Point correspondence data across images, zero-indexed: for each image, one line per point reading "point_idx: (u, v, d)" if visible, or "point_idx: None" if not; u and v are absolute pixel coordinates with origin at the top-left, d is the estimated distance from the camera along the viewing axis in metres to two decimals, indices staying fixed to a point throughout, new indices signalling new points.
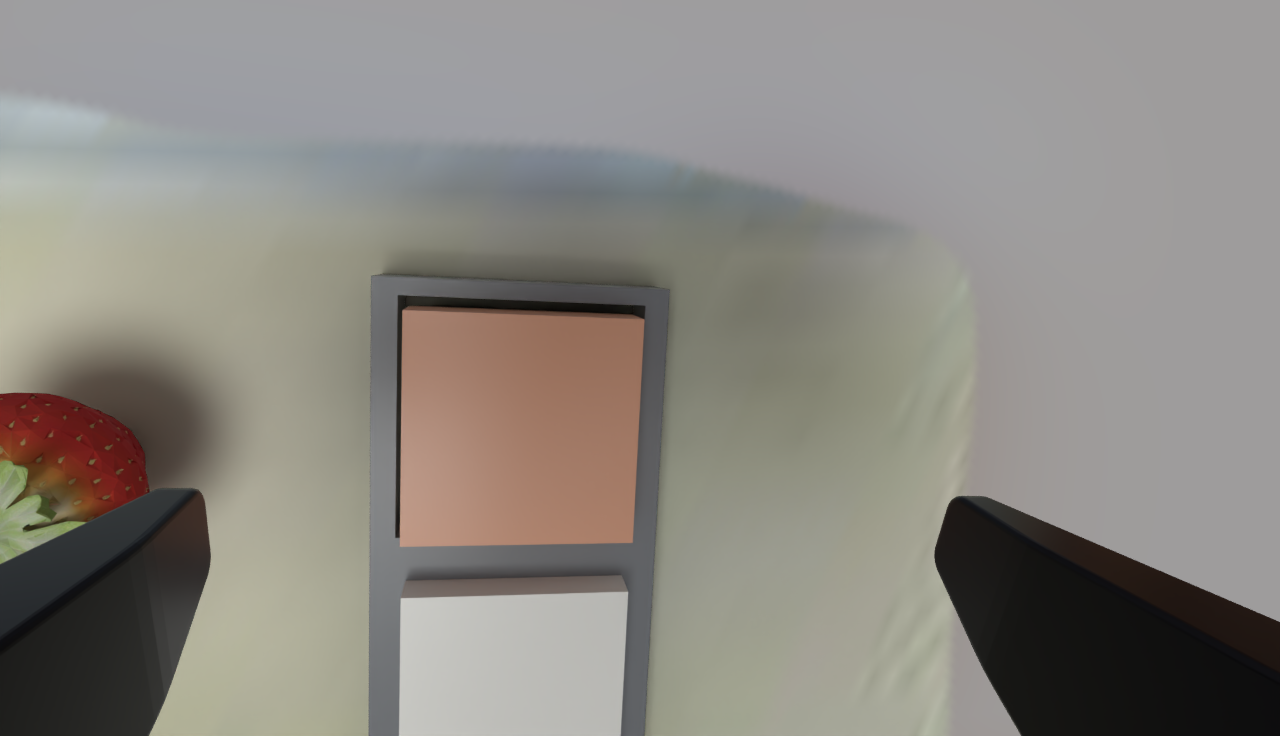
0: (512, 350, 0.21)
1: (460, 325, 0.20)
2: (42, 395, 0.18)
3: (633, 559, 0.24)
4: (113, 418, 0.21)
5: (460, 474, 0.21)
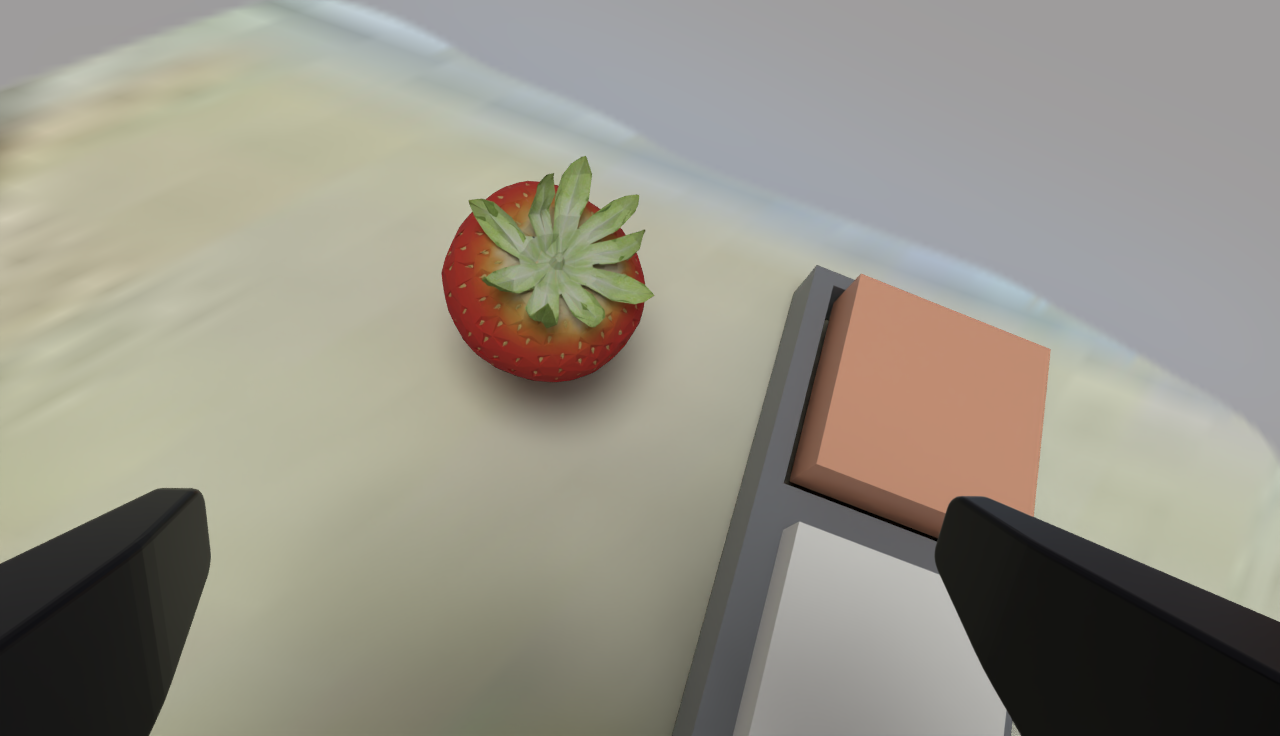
0: (940, 333, 0.23)
1: (903, 300, 0.24)
2: None
3: None
4: None
5: (882, 418, 0.22)
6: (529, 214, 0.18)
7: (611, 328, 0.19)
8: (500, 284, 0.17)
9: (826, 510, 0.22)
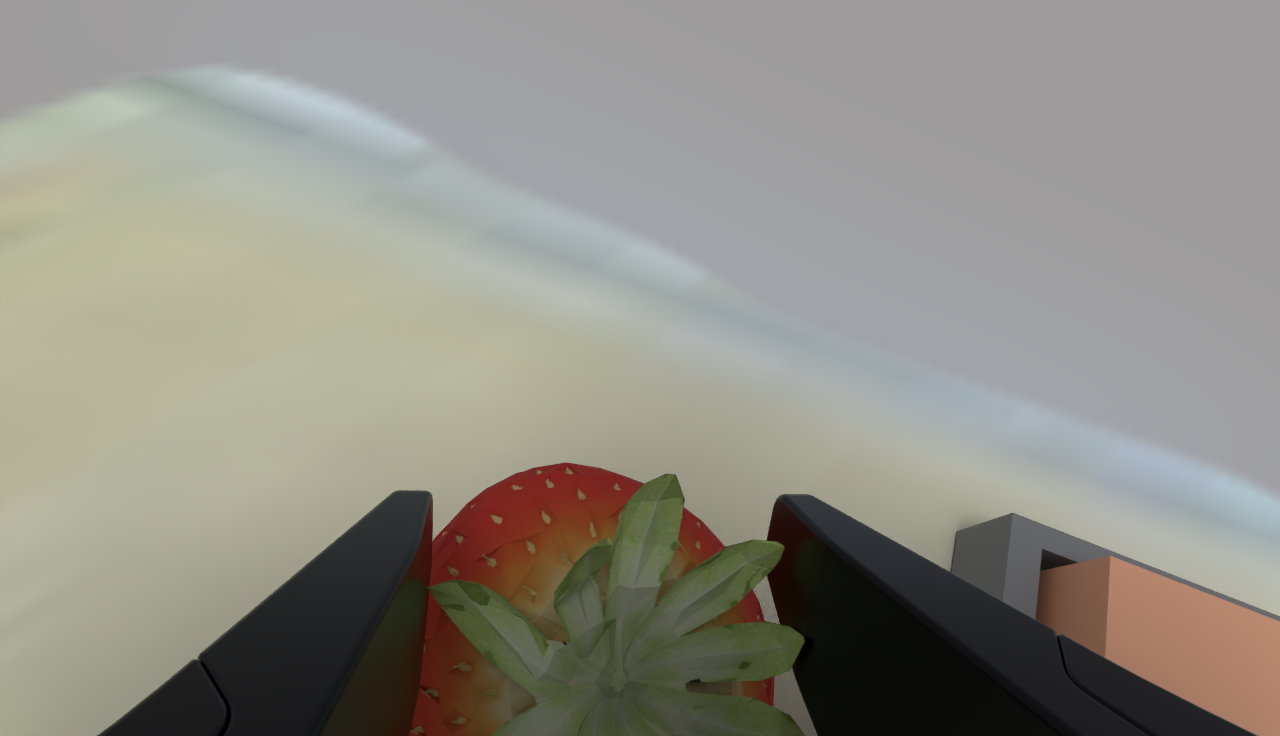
0: (1251, 664, 0.14)
1: (1183, 602, 0.14)
2: None
3: None
4: None
5: None
6: (556, 599, 0.09)
7: None
8: None
9: None
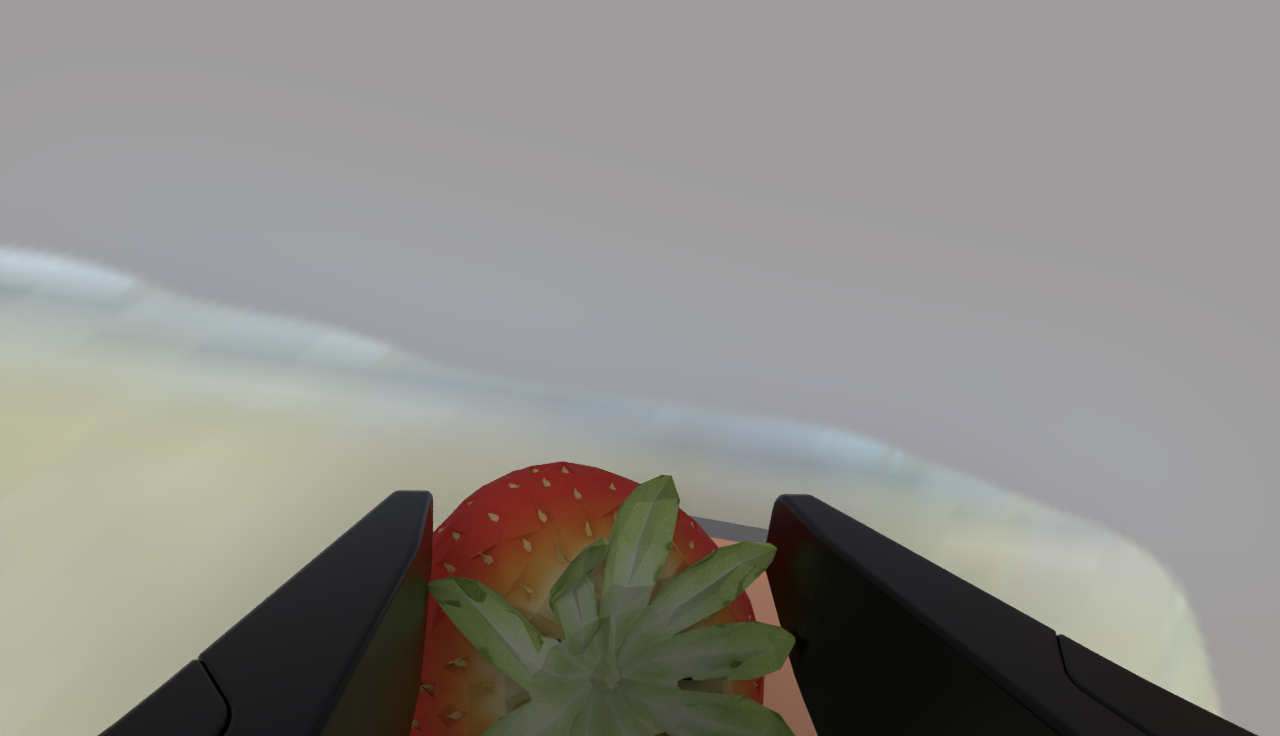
0: (766, 586, 0.19)
1: None
2: None
3: None
4: None
5: None
6: (551, 597, 0.09)
7: None
8: None
9: None
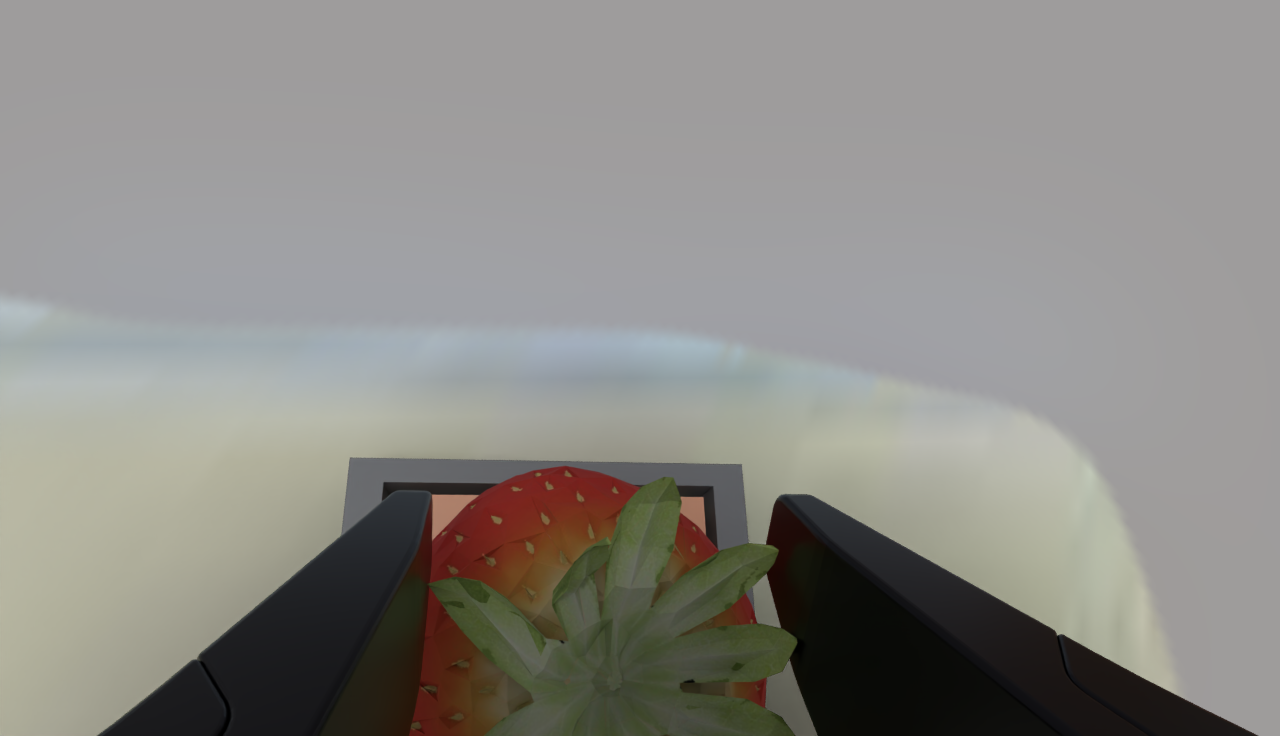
0: None
1: None
2: None
3: None
4: None
5: None
6: (554, 598, 0.09)
7: None
8: None
9: None
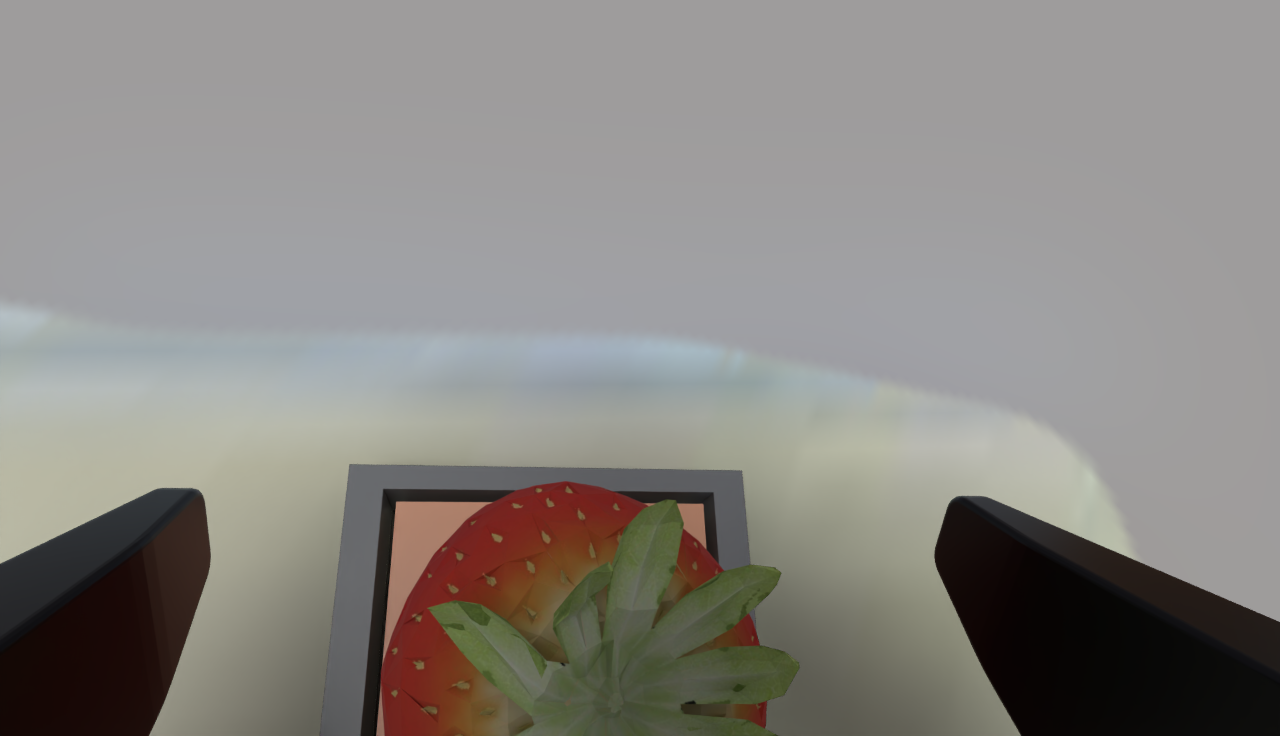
0: None
1: None
2: None
3: None
4: None
5: None
6: (555, 621, 0.09)
7: None
8: None
9: None
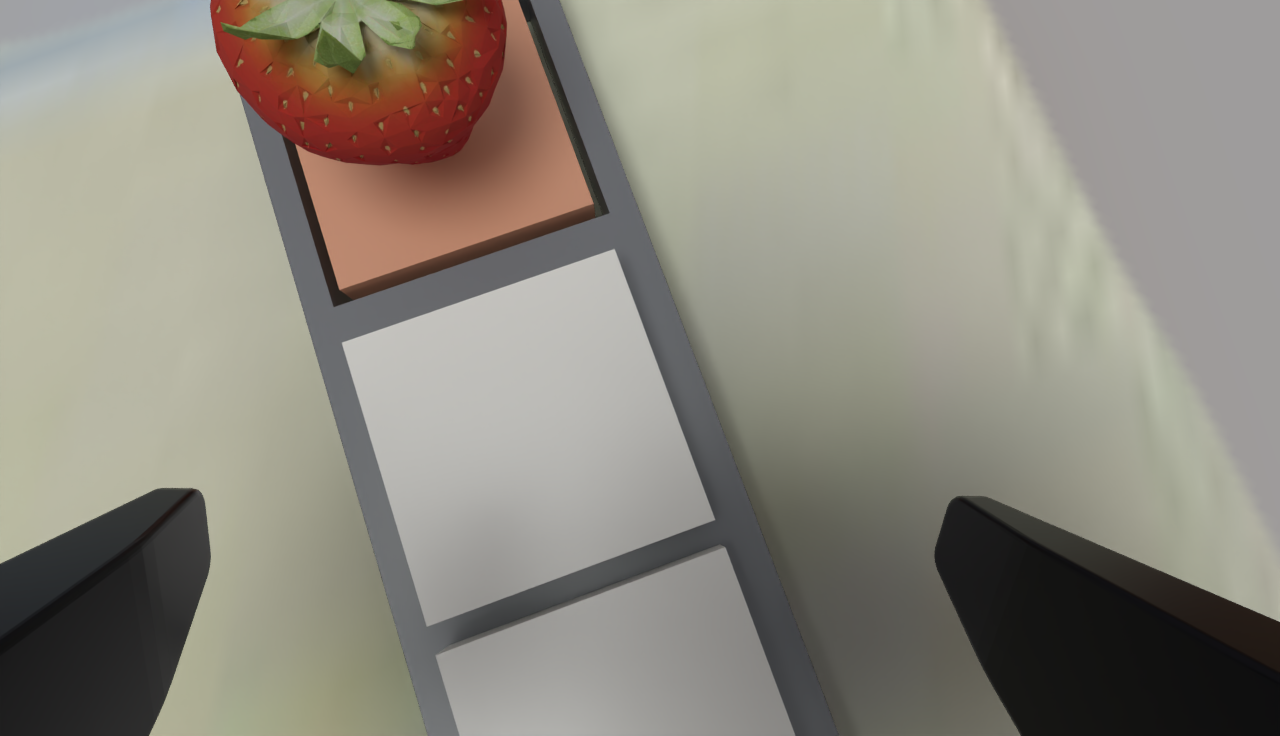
0: None
1: None
2: None
3: (623, 242, 0.19)
4: None
5: (377, 193, 0.19)
6: None
7: (458, 49, 0.14)
8: (262, 32, 0.12)
9: (393, 299, 0.18)
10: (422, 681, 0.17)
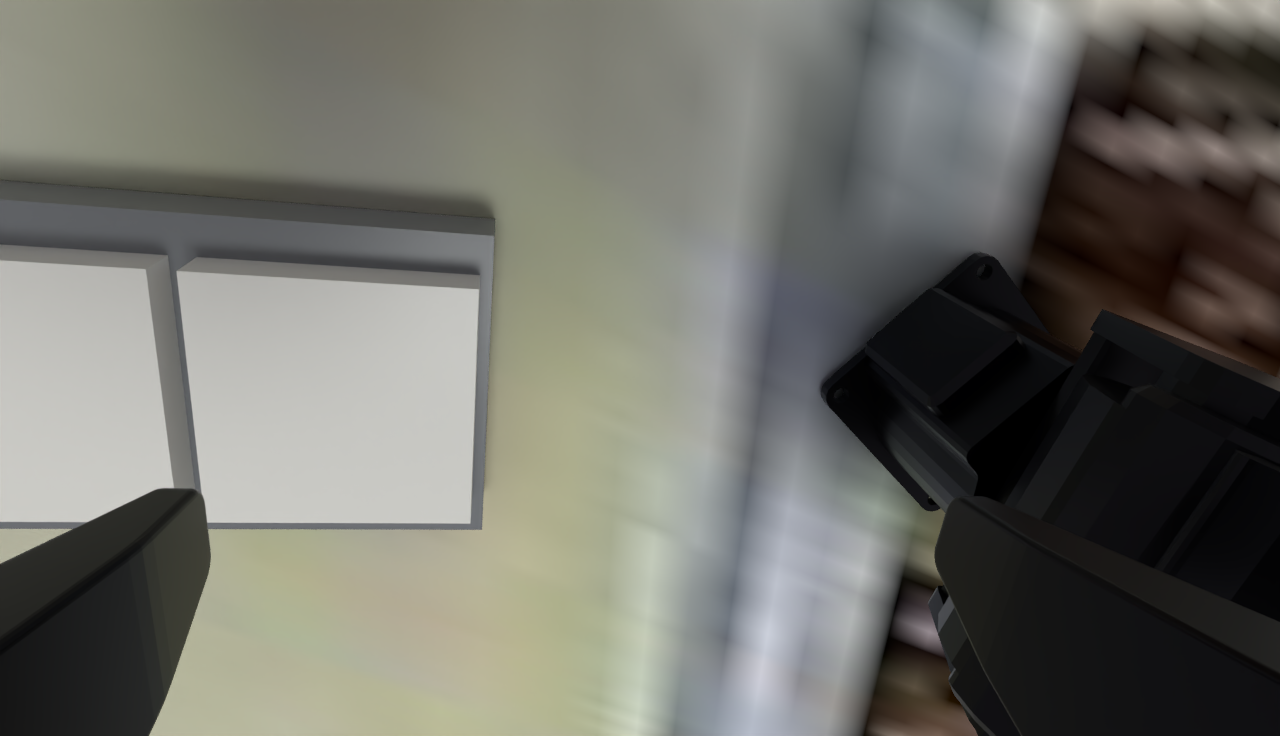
0: None
1: None
2: None
3: None
4: None
5: None
6: None
7: None
8: None
9: None
10: None
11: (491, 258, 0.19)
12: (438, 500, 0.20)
